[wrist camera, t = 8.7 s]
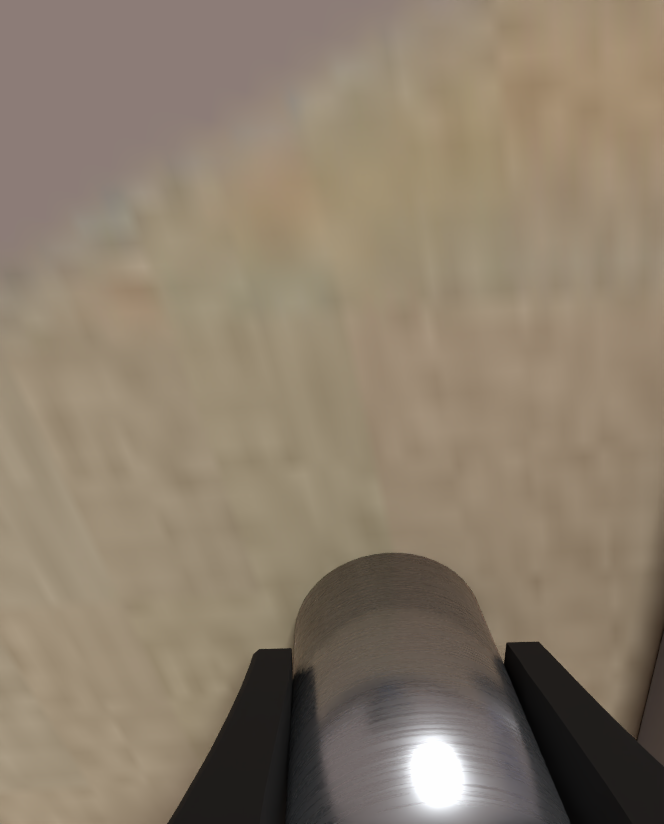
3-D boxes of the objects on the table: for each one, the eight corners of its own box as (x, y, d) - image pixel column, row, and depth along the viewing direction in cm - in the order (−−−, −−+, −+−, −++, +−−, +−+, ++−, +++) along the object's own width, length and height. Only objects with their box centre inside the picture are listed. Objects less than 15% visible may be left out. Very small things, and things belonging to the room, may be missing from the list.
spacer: (496, 557, 11) (629, 807, 6) (466, 706, 12) (558, 1005, 8) (300, 548, 11) (287, 798, 6) (291, 701, 12) (274, 1003, 7)
